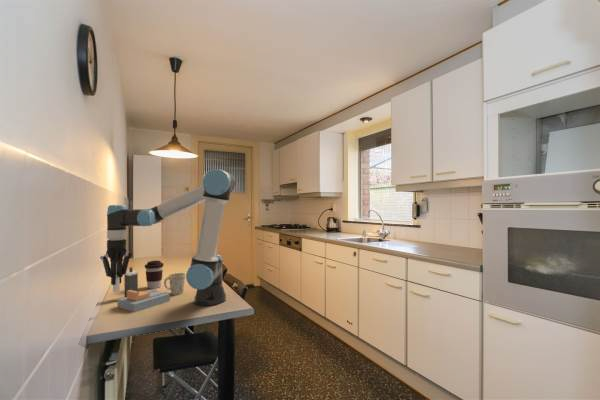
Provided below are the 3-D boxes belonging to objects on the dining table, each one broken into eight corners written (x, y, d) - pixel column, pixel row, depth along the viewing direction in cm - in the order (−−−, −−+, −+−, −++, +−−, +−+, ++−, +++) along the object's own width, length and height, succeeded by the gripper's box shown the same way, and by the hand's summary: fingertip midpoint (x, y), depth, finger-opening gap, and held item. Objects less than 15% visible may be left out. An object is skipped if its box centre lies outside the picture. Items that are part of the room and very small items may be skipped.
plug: (138, 296, 162) (137, 267, 162) (129, 299, 158) (129, 268, 158) (132, 295, 164) (132, 266, 164) (124, 297, 160) (124, 267, 160)
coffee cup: (166, 284, 185) (166, 259, 185) (159, 289, 175) (159, 263, 175) (149, 285, 185) (149, 260, 185) (141, 289, 175) (141, 263, 175)
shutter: (149, 296, 149) (149, 288, 149) (135, 300, 143) (135, 292, 143) (140, 294, 153) (140, 287, 153) (126, 298, 147) (126, 290, 147)
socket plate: (169, 300, 155) (169, 292, 155) (134, 312, 139) (134, 302, 139) (152, 296, 162) (152, 288, 162) (117, 307, 146) (117, 297, 146)
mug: (179, 295, 163) (179, 276, 163) (158, 294, 165) (158, 276, 166) (188, 291, 171) (188, 273, 171) (168, 290, 174) (168, 272, 174)
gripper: (126, 237, 147) (125, 286, 147) (96, 240, 136) (96, 293, 135) (135, 238, 143) (135, 289, 143) (106, 241, 132) (105, 296, 132)
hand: (116, 291), depth 139 cm, fingers closed
